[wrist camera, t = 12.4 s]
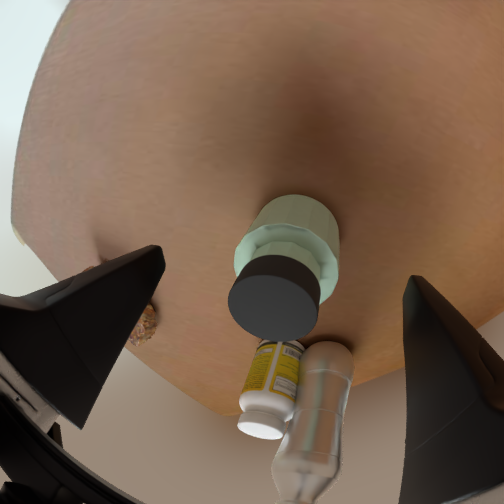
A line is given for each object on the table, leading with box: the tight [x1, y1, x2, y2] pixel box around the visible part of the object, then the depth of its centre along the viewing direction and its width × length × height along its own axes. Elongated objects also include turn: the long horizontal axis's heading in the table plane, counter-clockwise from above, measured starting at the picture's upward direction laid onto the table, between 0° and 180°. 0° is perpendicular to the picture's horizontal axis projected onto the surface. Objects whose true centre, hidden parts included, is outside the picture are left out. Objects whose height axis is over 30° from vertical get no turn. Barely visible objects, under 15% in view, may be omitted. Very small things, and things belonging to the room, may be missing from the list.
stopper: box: [228, 255, 321, 342], centre depth 17 cm, size 5×5×5 cm
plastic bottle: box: [271, 341, 354, 504], centre depth 21 cm, size 6×7×20 cm
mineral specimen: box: [83, 266, 157, 346], centre depth 33 cm, size 12×8×7 cm
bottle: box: [234, 194, 340, 305], centre depth 20 cm, size 7×7×8 cm
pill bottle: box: [238, 340, 306, 439], centre depth 27 cm, size 6×6×11 cm
